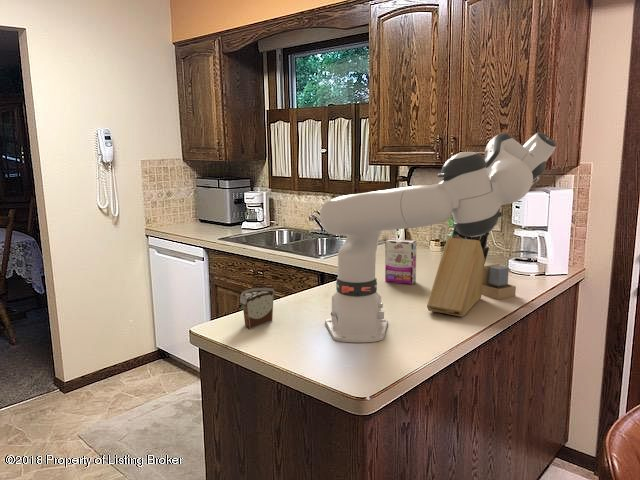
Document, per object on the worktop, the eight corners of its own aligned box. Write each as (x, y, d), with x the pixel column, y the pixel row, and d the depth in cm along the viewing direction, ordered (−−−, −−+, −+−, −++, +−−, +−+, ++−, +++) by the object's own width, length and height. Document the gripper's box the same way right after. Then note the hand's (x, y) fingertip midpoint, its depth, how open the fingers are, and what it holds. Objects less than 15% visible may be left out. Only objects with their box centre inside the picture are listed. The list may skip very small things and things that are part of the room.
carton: (515, 295, 185) (516, 268, 183) (497, 299, 181) (499, 271, 180) (496, 290, 193) (498, 263, 191) (479, 293, 189) (481, 266, 187)
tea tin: (507, 295, 186) (508, 267, 184) (497, 297, 184) (499, 269, 182) (497, 292, 190) (498, 265, 188) (487, 294, 188) (489, 266, 186)
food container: (261, 315, 167) (260, 285, 166) (275, 319, 164) (274, 288, 162) (232, 326, 158) (230, 294, 156) (246, 330, 154) (245, 297, 152)
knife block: (489, 292, 190) (493, 206, 185) (461, 320, 161) (465, 220, 155) (458, 288, 196) (461, 205, 190) (425, 314, 166) (428, 217, 161)
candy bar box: (416, 282, 205) (417, 240, 202) (412, 285, 201) (413, 242, 198) (389, 278, 210) (389, 238, 207) (384, 281, 206) (385, 240, 203)
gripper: (499, 181, 170) (476, 208, 181) (542, 178, 180) (518, 204, 190) (489, 167, 173) (467, 194, 184) (532, 165, 183) (509, 191, 193)
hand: (493, 199), depth 187 cm, fingers open, 8 cm apart
